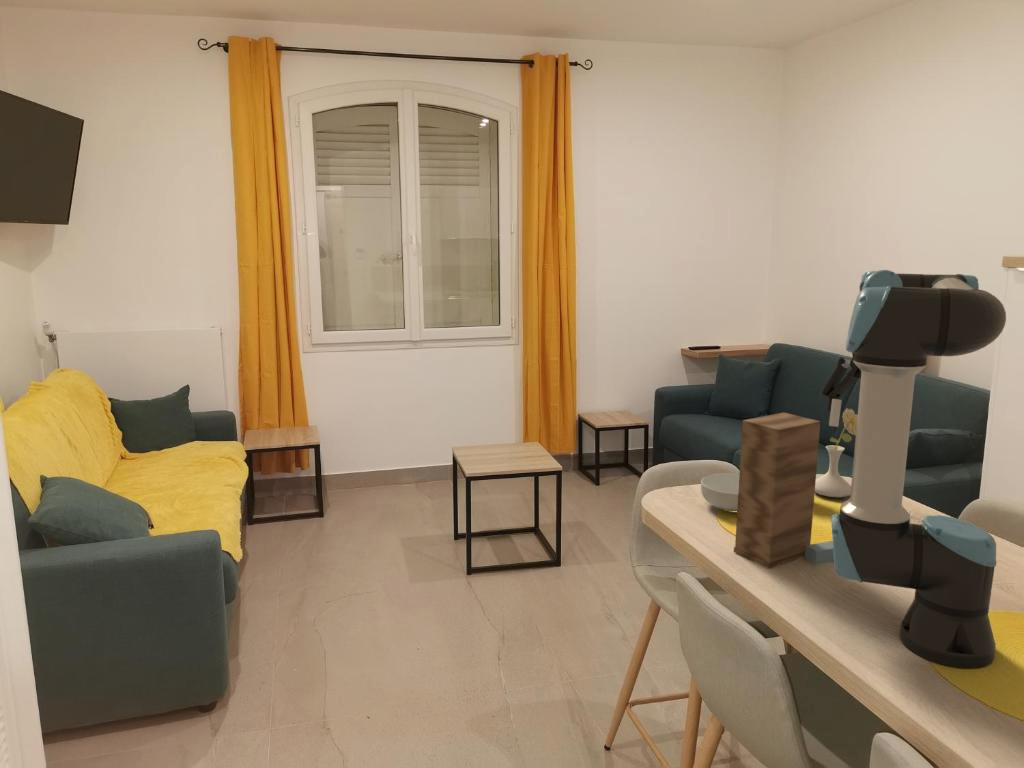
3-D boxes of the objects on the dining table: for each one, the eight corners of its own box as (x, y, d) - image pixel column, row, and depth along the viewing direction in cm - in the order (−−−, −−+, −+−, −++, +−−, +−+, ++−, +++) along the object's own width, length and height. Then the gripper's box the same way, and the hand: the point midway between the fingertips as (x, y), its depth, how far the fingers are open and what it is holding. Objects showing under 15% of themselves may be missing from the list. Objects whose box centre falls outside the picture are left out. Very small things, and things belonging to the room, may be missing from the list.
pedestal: (810, 554, 179) (821, 421, 172) (769, 568, 171) (779, 430, 165) (774, 539, 187) (783, 412, 181) (733, 552, 180) (741, 420, 174)
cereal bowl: (697, 515, 203) (699, 489, 202) (701, 494, 219) (702, 470, 218) (764, 522, 199) (766, 496, 197) (763, 500, 214) (765, 476, 213)
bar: (897, 550, 182) (898, 536, 181) (815, 565, 174) (816, 551, 173) (885, 545, 185) (887, 531, 184) (804, 559, 177) (805, 545, 176)
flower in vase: (827, 502, 212) (834, 415, 207) (801, 489, 223) (808, 405, 218) (866, 498, 216) (875, 412, 211) (839, 485, 226) (847, 403, 221)
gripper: (933, 342, 170) (921, 437, 170) (832, 340, 191) (821, 425, 190) (915, 337, 166) (903, 434, 165) (814, 336, 186) (803, 422, 186)
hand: (859, 429), depth 178 cm, fingers open, 13 cm apart
